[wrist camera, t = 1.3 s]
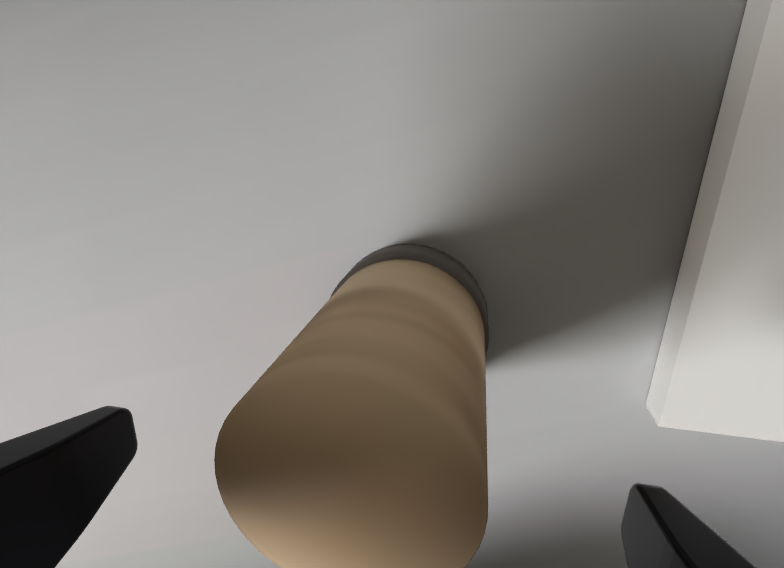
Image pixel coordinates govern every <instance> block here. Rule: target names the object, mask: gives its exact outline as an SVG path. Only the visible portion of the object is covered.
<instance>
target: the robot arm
mask: <svg viewBox="0 0 784 568" xmlns="http://www.w3.org/2000/svg"><path fill="white" fill-rule="evenodd" d="M136 451H137V438H136V433H135V428H134V423H133V418H132V414H131V412H130V411H129V410H128V409H126V408H121V407H114V406H105V407H102V408H99V409H96V410H93V411H90V412H88V413H85V414H82V415H79V416H76V417H73V418H71V419H68V420H65V421H62V422H59V423H56V424H54V425H51V426H48V427H45V428H42V429H39V430H36V431H34V432H31V433H28V434H25V435H22V436H19V437H17V438H14V439H11V440H8V441H5V442H2V443H0V568H55V567H56V565H57V564H58V563H59V562H60V560H61V559H62V558H63V557H64V555H65V554H66V553H67V552H68V550H69V549H70V548H71V547H72V545H73V544H74V543H75V542H76V540H77V539H78V538H79V536H80V535H81V534H82V532H83V531H84V530H85V528H86V527H87V525H88V524H89V523H90V521H91V520H92V518H93V517H94V515H95V514H96V512H97V511H98V509H99V508H100V506H101V505H102V504H103V502H104V501H105V499H106V498H107V496H108V495H109V493H110V492H111V490H112V489H113V487H114V486H115V484H116V483H117V481H118V480H119V478H120V477H121V475H122V474H123V473H124V471H125V470H126V468H127V467H128V465H129V464H130V462H131V461H132V459H133V458H134V456H135V454H136ZM621 532H622V540H623V545H624V550H625V555H626V560H627V565H628V568H756V567H754V566H753V565H752V564H751V563H750V562H749V561H747V560H746V559H745V558H744V557H743V556H742V555H741V554H739V553H738V552H737V551H736V550H735V549H734V548H732V547H731V546H730V545H729V544H728V543H727V542H726V541H724V540H723V539H722V538H721V537H720V536H719V535H717V534H716V533H715V532H714V531H713V530H712V529H710V528H709V527H708V526H707V525H706V524H705V523H704V522H702V521H701V520H700V519H699V518H698V517H697V516H695V515H694V514H693V513H692V512H691V511H690V510H689V509H687V508H686V507H685V506H684V505H683V504H682V503H680V502H679V501H678V500H677V499H676V498H675V497H674V496H672V495H671V494H670V493H669V492H668V491H666V490H665V489H664V488H662V487H659V486H653V485H646V484H640V483H637V484H634V485H633V486H632V487H631V489H630V492H629V496H628V500H627V504H626V508H625V512H624V516H623V520H622V527H621Z"/></svg>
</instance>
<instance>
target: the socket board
mask: <svg viewBox="0 0 784 568" xmlns="http://www.w3.org/2000/svg"><path fill="white" fill-rule="evenodd" d="M646 406H647V408H648V410H649V411H650V413H651V415H652V416H653V418H654V420H655V421H656V423H657V425H658V426H660V427H668V428H676V429H684V430H692V431H700V432H708V433H716V434H723V435H731V436H739V437H747V438H755V439H763V440H771V441H779V442H784V0H747V4H746V8H745V12H744V16H743V20H742V24H741V28H740V32H739V36H738V40H737V44H736V48H735V52H734V56H733V60H732V64H731V68H730V72H729V76H728V79H727V83H726V87H725V91H724V95H723V99H722V103H721V107H720V111H719V115H718V119H717V123H716V127H715V131H714V135H713V139H712V143H711V147H710V151H709V155H708V159H707V163H706V167H705V171H704V175H703V179H702V183H701V187H700V191H699V195H698V199H697V203H696V207H695V211H694V215H693V219H692V223H691V227H690V231H689V235H688V239H687V243H686V246H685V250H684V254H683V258H682V262H681V266H680V270H679V274H678V278H677V282H676V286H675V290H674V294H673V298H672V302H671V306H670V310H669V314H668V318H667V322H666V326H665V330H664V334H663V338H662V342H661V346H660V350H659V354H658V358H657V362H656V366H655V370H654V374H653V378H652V382H651V386H650V390H649V394H648V398H647V402H646Z"/></svg>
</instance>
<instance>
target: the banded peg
mask: <svg viewBox="0 0 784 568" xmlns="http://www.w3.org/2000/svg"><path fill="white" fill-rule="evenodd" d="M487 348H488V314H487V306H486V302H485V298H484V296H483V293H482V291H481V288H480V287H479V285H478V283H477V282H476V280H475V279H474V277H473V276H472V275H471V273H470V272H469V271H468V270H467V269H466V268H465V267H464V266H463V265H462V264H461V263H459V262H458V261H457V260H455V259H454V258H452V257H451V256H449V255H447V254H445V253H444V252H441V251H439V250H436V249H434V248H430V247H426V246H421V245H414V244H402V245H394V246H389V247H385V248H382V249H380V250H377V251H375V252H373V253H371V254H369V255H368V256H366V257H365V258H363V259H362V260H361V261H359V262H358V263H357V264H356V265H355V266H354V267H353V268H352V269H351V271H350V272H349V273H348V274H347V275H346V276H345V277H344V278H343V279H342V280H341V281H340V283H339V284H338V285H337V287H336V288H335V290H334V291H333V293H332V295H331V297H330V299H329V301H328V302H327V303H326V304H325V305H324V306H323V307H322V308H321V310H320V311H319V312H318V313H317V314H316V315H315V316H314V317H313V319H312V320H311V321H310V322H309V323H308V324H307V325H306V326H305V328H304V329H303V330H302V331H301V332H300V333H299V334H298V336H297V337H296V338H295V339H294V340H293V341H292V342H291V343H290V345H289V346H288V347H287V348H286V349H285V350H284V351H283V352H282V354H281V355H280V356H279V357H278V358H277V359H276V360H275V361H274V363H273V364H272V365H271V366H270V367H269V368H268V369H267V371H266V372H265V373H264V374H263V375H262V376H261V377H260V378H259V380H258V381H257V382H256V383H255V384H254V385H253V386H252V387H251V389H250V390H249V391H248V392H247V393H246V394H245V395H244V396H243V398H242V399H241V400H240V401H239V402H238V403H237V404H236V406H235V407H234V408H233V409H232V411H231V412H230V413H229V415H228V416H227V418H226V419H225V421H224V423H223V426H222V428H221V430H220V432H219V435H218V439H217V443H216V448H215V459H214V461H215V475H216V479H217V484H218V488H219V491H220V494H221V497H222V500H223V502H224V504H225V506H226V508H227V510H228V512H229V514H230V516H231V518H232V519H233V521H234V522H235V524H236V525H237V527H238V528H239V529H240V531H241V532H242V533H243V534H244V536H245V537H246V538H247V539H248V540H249V541H250V542H251V543H252V544H253V545H254V546H255V547H256V548H257V549H258V550H259V551H260V552H261V553H262V554H263V555H264V556H266V557H267V558H268V559H269V560H270V561H272V562H273V563H275V564H276V565H277V566H279V567H280V568H464V567H465V566H466V565H467V564H468V563H469V561H470V560H471V559H472V558H473V556H474V554H475V553H476V551H477V550H478V548H479V546H480V544H481V541H482V539H483V536H484V533H485V529H486V524H487V518H488V480H487V428H486V377H485V357H486V353H487Z"/></svg>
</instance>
